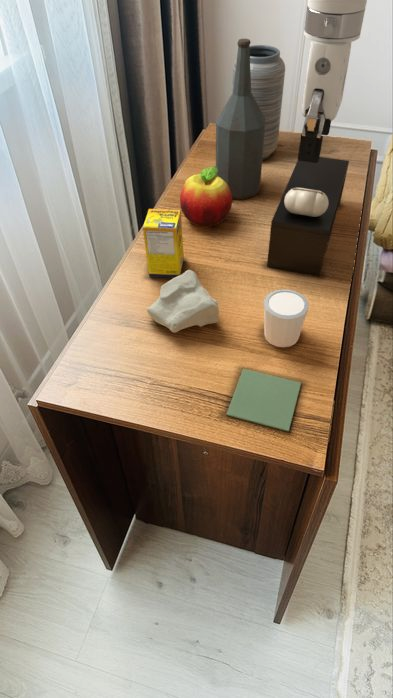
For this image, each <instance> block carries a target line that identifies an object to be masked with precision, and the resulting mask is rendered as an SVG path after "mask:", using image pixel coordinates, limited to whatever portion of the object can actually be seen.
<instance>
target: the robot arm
mask: <svg viewBox="0 0 393 698" xmlns="http://www.w3.org/2000/svg"><path fill="white" fill-rule="evenodd" d="M367 3H368V0H307V5H306V13H305V21H304V28H303V29H304V30H303V36H304V37H305V38H306V39H308V40H310V45H309V52H308V60H307V66H306V72H305V73H306V74H305V80H304V87H303V96H302V106H301V115H302V116H303V117H304V122H303V125H302V126H303V127H302V131H301V133H300V139H299V145H298V152H297V153H298V154H297V161H298V160H299V161H305V162H312V163H318V161H319V158H320V157H321V151H322V146H323V140H324V136H328V135H329V134H330V130H331V125H332V121H333V120H335V119H336V118H337V115H338V112H339V110H340V107H341V104H342V101H343V97H344V92H345V84H346V79H347V73H348V67H349V62H350V56H351V48H352V43H353V42H355V41H358V40H359V39H360V38H361V32H362V28H363V23H364V19H365V18H364V17H365V12H366V8H367Z"/></svg>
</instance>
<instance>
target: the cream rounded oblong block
mask: <svg viewBox="0 0 393 698" xmlns="http://www.w3.org/2000/svg"><path fill="white" fill-rule="evenodd" d="M284 204H285V207H286V209H287V210H288V211H289V212H291V213H293V214H299V215H305V216H311V217H318V216H320V215H322V214H323V213H325V211H326V210H327V208H328V204H329V202H328V198H327V196H326V195H325V194H324V193H323V192H321V191H318V190H312V189H305V188H293V189H291V190H290V191H289V192H288V193H287V194H286V196H285V199H284Z"/></svg>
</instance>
